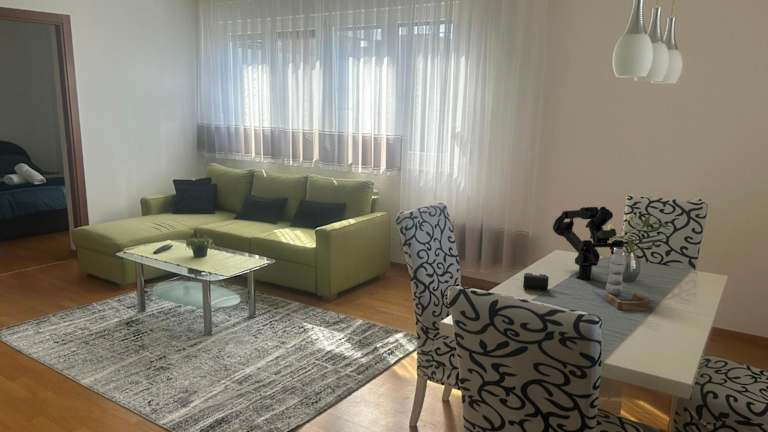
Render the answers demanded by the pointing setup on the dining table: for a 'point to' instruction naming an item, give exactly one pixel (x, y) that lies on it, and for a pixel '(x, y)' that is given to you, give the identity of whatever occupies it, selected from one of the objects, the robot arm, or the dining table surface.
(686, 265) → the dining table surface
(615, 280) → the plastic bottle
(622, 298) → the felt coaster
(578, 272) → the robot arm
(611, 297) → the walnut collar
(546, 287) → the end cap
